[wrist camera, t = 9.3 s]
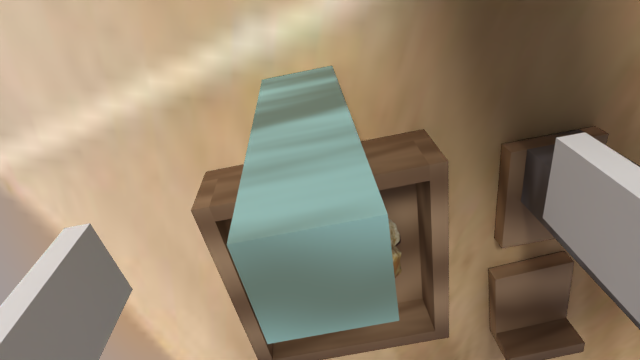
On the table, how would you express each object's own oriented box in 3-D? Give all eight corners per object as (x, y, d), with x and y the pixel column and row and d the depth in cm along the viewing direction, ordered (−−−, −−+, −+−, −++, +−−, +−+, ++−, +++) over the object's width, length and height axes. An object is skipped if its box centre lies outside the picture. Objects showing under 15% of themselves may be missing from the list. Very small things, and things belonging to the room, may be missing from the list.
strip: (488, 268, 30) (510, 304, 27) (564, 251, 30) (595, 285, 27) (490, 330, 34) (509, 367, 31) (556, 315, 34) (583, 351, 31)
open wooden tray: (176, 97, 21) (31, 281, 9) (420, 47, 21) (596, 175, 9) (265, 322, 32) (251, 546, 20) (430, 293, 31) (518, 504, 19)
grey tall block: (501, 143, 24) (705, 328, 12) (595, 126, 24) (893, 295, 12) (494, 237, 29) (641, 442, 17) (573, 222, 28) (781, 420, 16)
